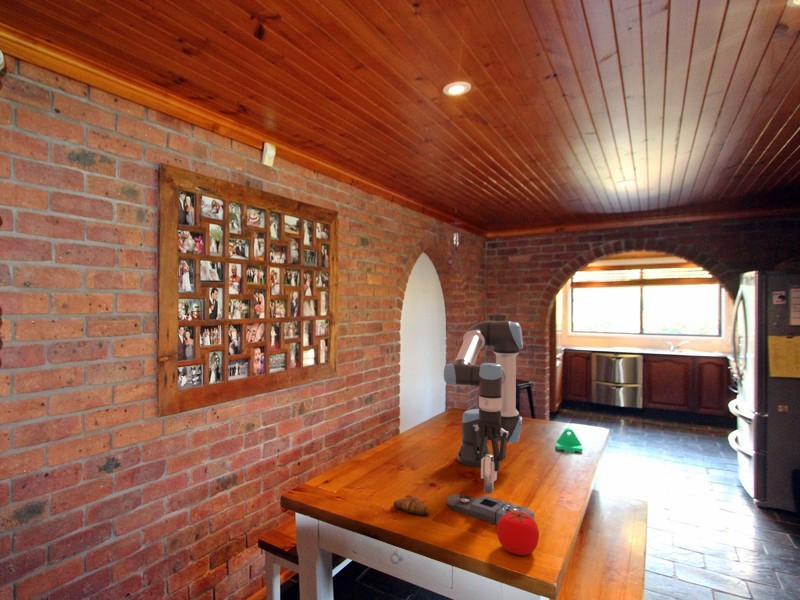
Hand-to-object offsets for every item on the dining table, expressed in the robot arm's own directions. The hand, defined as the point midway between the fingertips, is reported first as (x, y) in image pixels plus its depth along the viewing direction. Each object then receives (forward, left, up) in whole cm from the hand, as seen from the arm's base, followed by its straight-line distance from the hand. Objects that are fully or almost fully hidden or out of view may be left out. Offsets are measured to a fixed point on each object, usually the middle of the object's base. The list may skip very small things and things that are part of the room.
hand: (488, 478), depth 145 cm
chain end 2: (+5, 0, -12) cm, 14 cm away
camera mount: (+1, +90, -13) cm, 91 cm away
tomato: (+16, -14, -13) cm, 25 cm away
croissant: (-22, -14, -13) cm, 29 cm away
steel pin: (0, 0, -4) cm, 4 cm away
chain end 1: (-6, 0, -12) cm, 14 cm away
